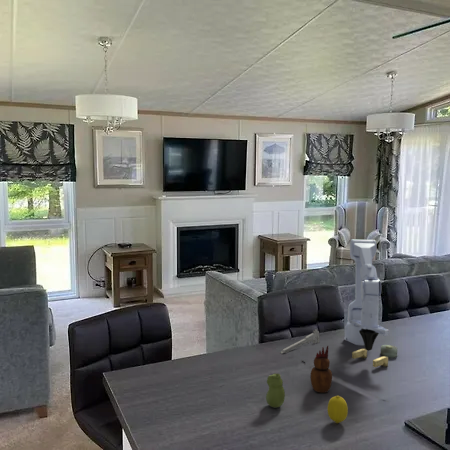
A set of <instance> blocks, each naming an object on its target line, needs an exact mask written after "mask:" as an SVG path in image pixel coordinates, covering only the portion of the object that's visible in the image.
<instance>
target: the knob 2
mask: <svg viewBox="0 0 450 450" xmlns="http://www.w3.org/2000/svg"><path fill="white" fill-rule="evenodd" d="M380 366H381V367H383V368H388V367H389V358H388V357H386V356H382V355H381V356H380V357H377V358H375V359H372V367H373V368H377V367H380Z"/></svg>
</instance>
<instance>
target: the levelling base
mask: <svg viewBox="0 0 450 450" xmlns="http://www.w3.org/2000/svg"><path fill="white" fill-rule="evenodd" d="M380 355H381V356H386V357H388V359H395V358H397V357H398V347H397V346H395V345H391V344H382V345H381V346H380Z"/></svg>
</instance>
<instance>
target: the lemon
mask: <svg viewBox="0 0 450 450" xmlns="http://www.w3.org/2000/svg"><path fill="white" fill-rule="evenodd" d="M348 409H349V408H348V404H347V402H346V400H345V399H344V398H343V397H342V396H340V395H335V396H332V397H331V398H330V399H328V402H327V415H328V417H329V419H330V420H332V422H334V423H336V424H339V423H342V422H344V421H345V420H346V419H347V417H348V412H349V410H348Z"/></svg>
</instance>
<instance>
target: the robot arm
mask: <svg viewBox="0 0 450 450" xmlns="http://www.w3.org/2000/svg"><path fill="white" fill-rule="evenodd" d="M349 241H350V242H349V256H350V259H351V260H353V261H354V265H355V287H354V288H355V293H354V295H355V296H354V297H355V299H354V300H353V301H351V302H350V303H349V304H348V308H347V322H346V324H345V326H344V340H345V341H347V342H349V343H351V344H354V345H356V346H364V349H365V350H367V352H369V351H371V350H373V346H374V344H375V341H376V339H377V337H378V335H382V336H384V337H387V336H390V335H389V334H390V329H387V328H385V327H384V326H382V325H379V307H380V305H379V304H380V296H381V294H382V282H381V280H380V277H378V273H377V268H376V267H375V265H374V264H373V259H374V258H375V255H376V253H377V240H375V239H374V238H373V239H356V238H355V239H354V238H351V239H350V240H349Z"/></svg>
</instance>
